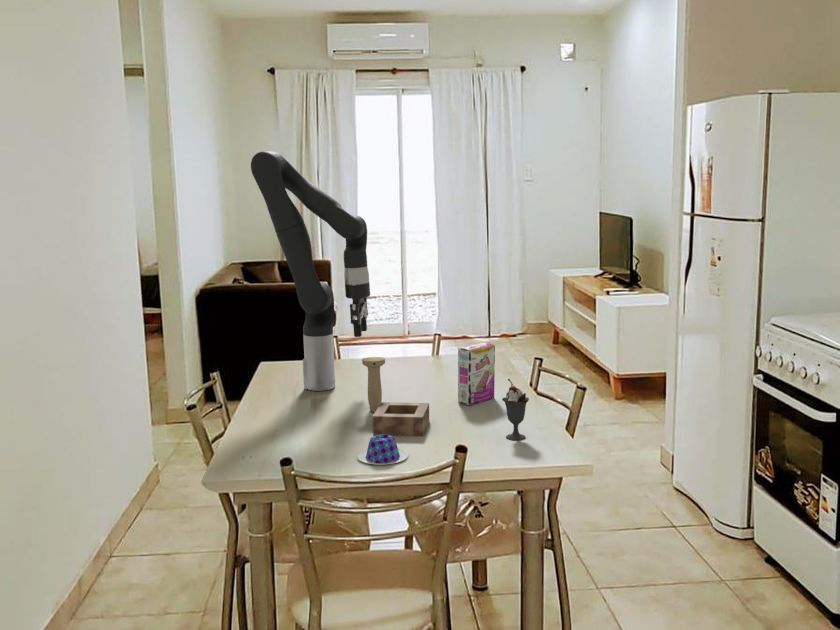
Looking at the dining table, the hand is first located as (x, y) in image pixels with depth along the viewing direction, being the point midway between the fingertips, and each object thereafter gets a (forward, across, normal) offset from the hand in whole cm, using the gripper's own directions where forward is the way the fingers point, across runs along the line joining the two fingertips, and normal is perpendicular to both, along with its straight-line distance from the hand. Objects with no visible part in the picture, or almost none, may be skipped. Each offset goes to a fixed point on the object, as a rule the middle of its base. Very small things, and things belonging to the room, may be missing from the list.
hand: (360, 333), depth 260 cm
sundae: (+19, +44, +48) cm, 68 cm away
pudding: (+19, +61, +16) cm, 66 cm away
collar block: (+18, +38, +18) cm, 46 cm away
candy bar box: (+19, +11, +36) cm, 42 cm away
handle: (+18, +23, +8) cm, 30 cm away
